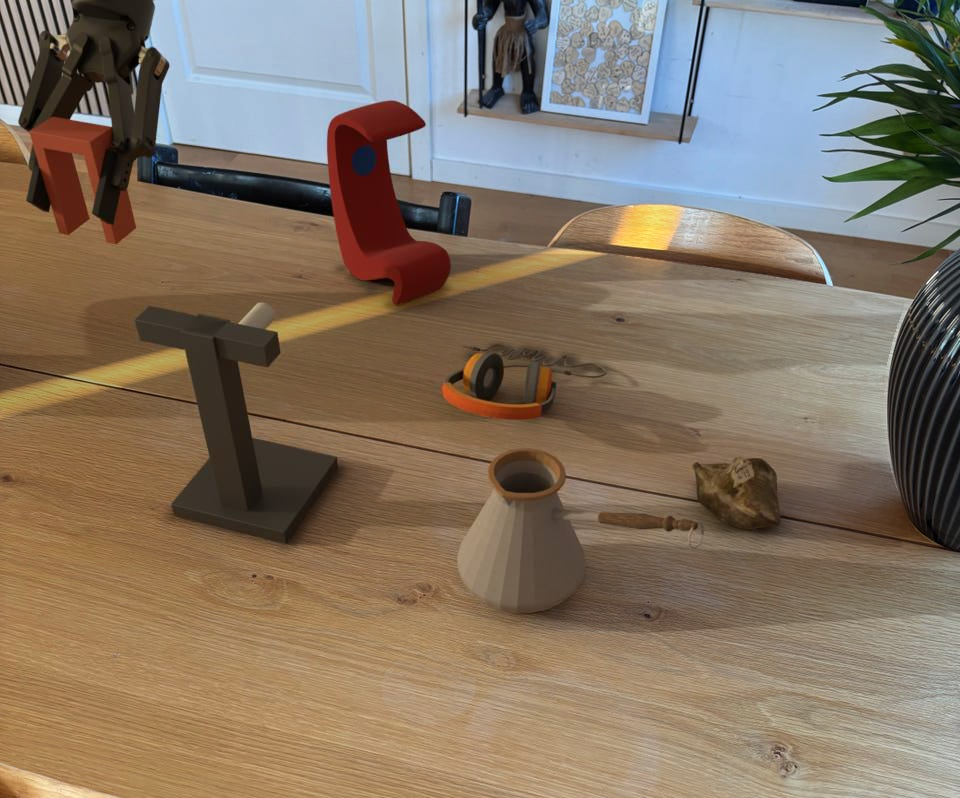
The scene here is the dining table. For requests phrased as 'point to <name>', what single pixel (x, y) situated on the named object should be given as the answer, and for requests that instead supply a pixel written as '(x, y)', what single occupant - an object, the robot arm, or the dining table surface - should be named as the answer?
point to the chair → (378, 203)
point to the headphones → (486, 380)
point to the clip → (61, 176)
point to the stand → (237, 428)
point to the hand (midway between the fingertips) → (70, 212)
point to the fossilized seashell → (739, 492)
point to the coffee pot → (534, 535)
